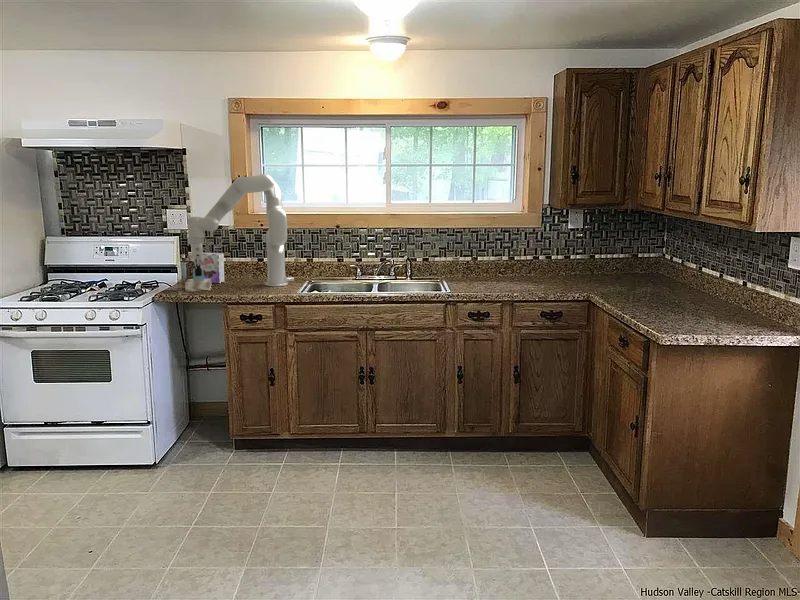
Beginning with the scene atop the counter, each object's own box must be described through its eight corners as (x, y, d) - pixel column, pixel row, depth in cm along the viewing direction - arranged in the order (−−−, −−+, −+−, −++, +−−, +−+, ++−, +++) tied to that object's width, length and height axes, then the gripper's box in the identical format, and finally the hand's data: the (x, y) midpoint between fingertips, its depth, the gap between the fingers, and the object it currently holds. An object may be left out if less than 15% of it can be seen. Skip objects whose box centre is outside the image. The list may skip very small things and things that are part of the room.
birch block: (211, 287, 351) (211, 278, 350) (209, 291, 340) (209, 282, 339) (188, 288, 349) (187, 279, 348) (185, 292, 337) (185, 282, 336)
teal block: (203, 279, 347) (202, 268, 346) (203, 281, 342) (203, 269, 341) (193, 280, 345) (192, 268, 344) (194, 281, 340) (193, 270, 339)
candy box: (197, 282, 365) (196, 253, 362) (203, 281, 370) (202, 252, 367) (219, 283, 361) (218, 254, 358) (225, 282, 366) (223, 253, 363)
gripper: (205, 242, 333) (206, 277, 336) (202, 239, 349) (204, 272, 352) (189, 242, 330) (191, 277, 334) (188, 239, 346) (189, 273, 349)
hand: (198, 274), depth 343 cm, fingers open, 6 cm apart
